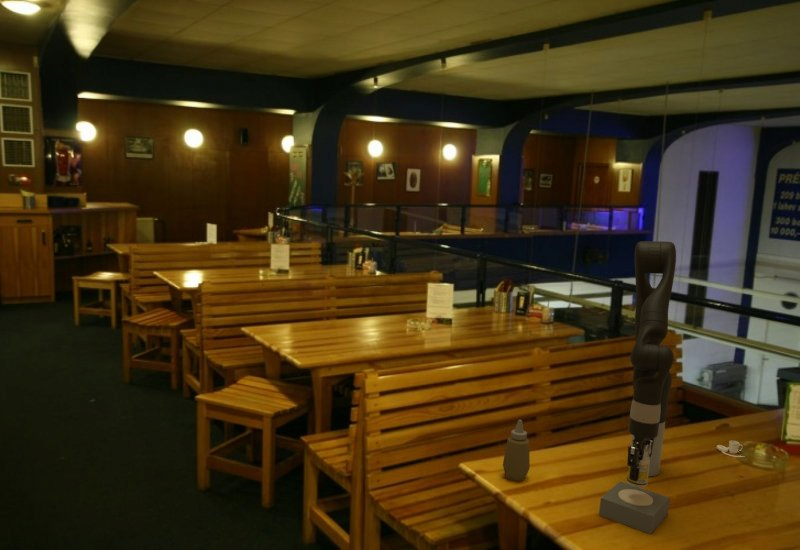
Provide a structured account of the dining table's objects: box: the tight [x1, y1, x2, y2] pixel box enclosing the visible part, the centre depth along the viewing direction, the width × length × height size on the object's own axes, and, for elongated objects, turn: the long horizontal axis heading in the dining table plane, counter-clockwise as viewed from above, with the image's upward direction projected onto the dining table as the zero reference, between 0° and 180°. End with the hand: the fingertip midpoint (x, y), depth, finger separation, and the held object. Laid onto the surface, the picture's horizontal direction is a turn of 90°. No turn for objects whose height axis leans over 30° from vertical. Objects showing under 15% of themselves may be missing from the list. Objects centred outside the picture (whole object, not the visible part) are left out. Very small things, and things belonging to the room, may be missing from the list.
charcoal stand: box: [598, 480, 671, 535], centre depth 188 cm, size 14×14×5 cm
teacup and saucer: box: [716, 439, 745, 458], centre depth 236 cm, size 9×8×4 cm
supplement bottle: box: [626, 449, 650, 488], centre depth 186 cm, size 5×5×10 cm
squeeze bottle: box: [502, 419, 531, 482], centre depth 206 cm, size 8×8×18 cm
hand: (637, 476), depth 186 cm, fingers closed on supplement bottle, 5 cm apart
